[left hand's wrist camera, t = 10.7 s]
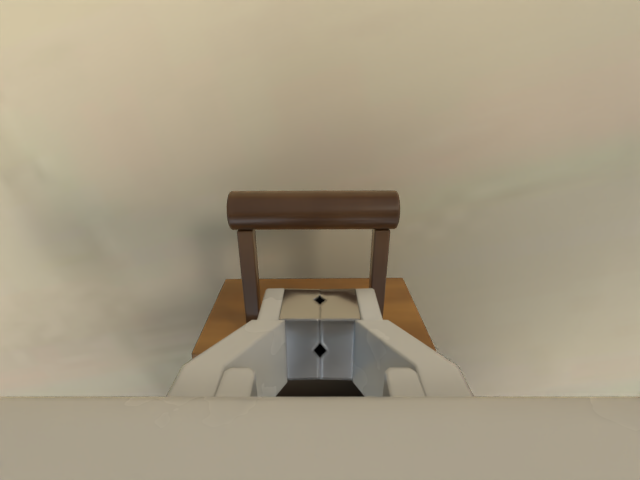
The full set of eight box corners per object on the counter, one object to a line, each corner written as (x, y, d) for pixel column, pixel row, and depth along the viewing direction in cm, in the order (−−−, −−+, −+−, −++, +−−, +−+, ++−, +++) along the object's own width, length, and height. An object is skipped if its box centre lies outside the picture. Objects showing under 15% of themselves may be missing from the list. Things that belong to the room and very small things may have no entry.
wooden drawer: (211, 166, 17) (163, 204, 12) (414, 166, 17) (461, 204, 12) (244, 431, 24) (223, 531, 19) (386, 429, 24) (407, 528, 19)
